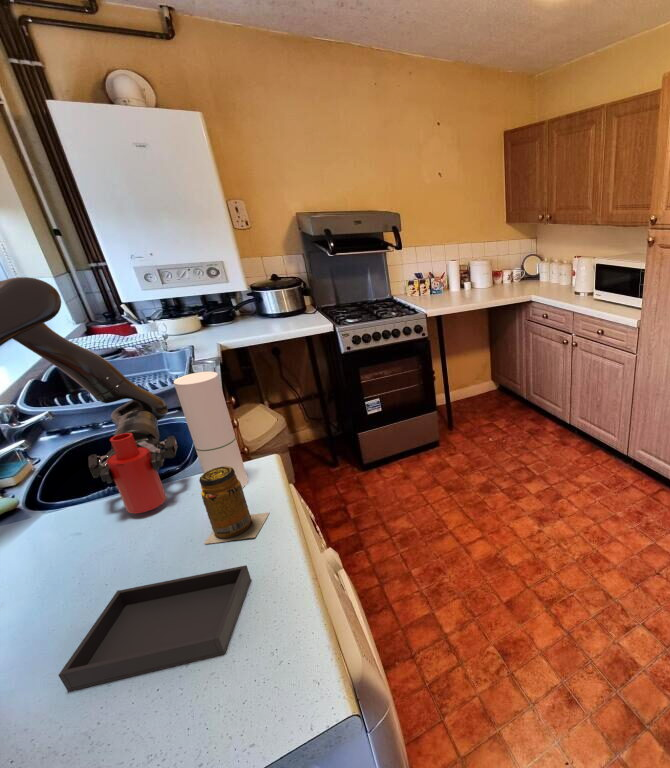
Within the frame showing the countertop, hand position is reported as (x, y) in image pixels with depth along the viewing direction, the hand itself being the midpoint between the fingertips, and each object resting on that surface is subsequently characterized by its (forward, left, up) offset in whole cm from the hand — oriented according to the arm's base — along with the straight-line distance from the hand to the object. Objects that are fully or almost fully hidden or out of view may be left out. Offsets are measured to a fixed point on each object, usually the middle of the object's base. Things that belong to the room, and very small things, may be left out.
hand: (132, 472), depth 82 cm
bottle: (-1, +2, -8) cm, 9 cm away
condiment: (+18, -10, -10) cm, 23 cm away
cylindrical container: (+12, +6, -10) cm, 17 cm away
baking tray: (+15, -31, -10) cm, 36 cm away
